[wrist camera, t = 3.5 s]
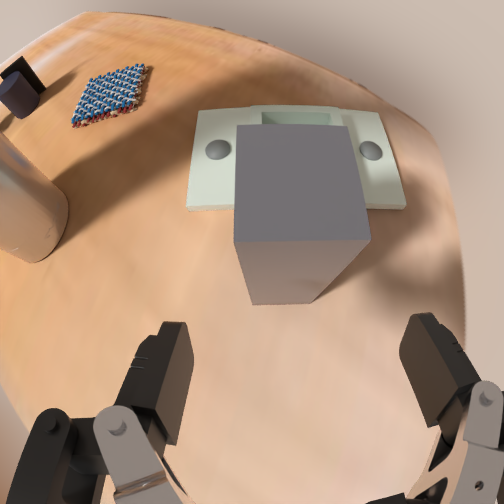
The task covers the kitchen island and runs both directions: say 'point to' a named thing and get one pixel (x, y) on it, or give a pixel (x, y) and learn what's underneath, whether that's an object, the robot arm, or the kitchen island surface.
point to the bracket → (226, 120)
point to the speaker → (20, 88)
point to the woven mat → (109, 95)
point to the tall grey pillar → (296, 209)
